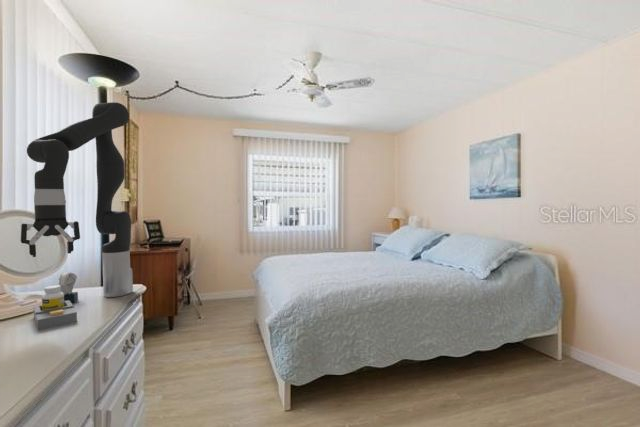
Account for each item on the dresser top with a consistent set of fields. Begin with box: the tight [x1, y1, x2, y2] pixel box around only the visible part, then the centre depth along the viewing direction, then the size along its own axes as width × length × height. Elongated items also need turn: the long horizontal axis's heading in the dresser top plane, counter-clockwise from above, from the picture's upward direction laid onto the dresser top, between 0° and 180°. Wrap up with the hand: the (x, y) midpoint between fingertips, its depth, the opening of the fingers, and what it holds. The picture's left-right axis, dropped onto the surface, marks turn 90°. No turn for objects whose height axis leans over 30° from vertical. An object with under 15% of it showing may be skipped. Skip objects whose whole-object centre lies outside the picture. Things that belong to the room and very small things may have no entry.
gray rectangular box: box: [33, 300, 78, 331], centre depth 102 cm, size 21×9×4 cm, turn 45°
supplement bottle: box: [41, 284, 64, 311], centre depth 102 cm, size 5×5×10 cm
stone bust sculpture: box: [58, 271, 79, 305], centre depth 117 cm, size 6×8×11 cm
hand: (52, 254), depth 101 cm, fingers open, 8 cm apart
